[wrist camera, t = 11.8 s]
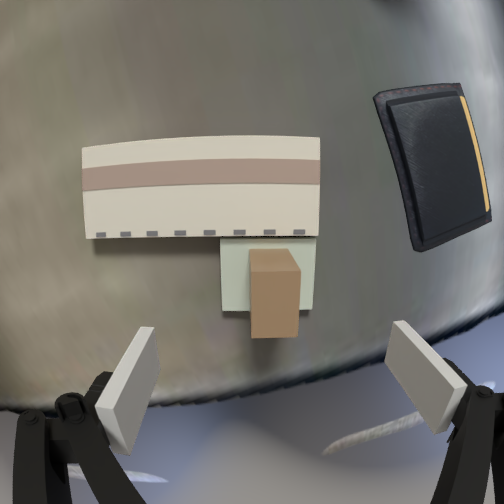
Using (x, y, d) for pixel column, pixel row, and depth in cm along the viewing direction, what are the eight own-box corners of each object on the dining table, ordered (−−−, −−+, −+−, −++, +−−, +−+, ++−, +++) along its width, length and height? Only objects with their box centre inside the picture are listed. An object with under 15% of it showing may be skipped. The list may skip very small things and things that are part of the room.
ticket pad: (93, 235, 33) (85, 238, 31) (90, 148, 31) (81, 147, 29) (313, 232, 34) (318, 235, 32) (315, 139, 31) (320, 137, 29)
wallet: (374, 89, 29) (467, 80, 28) (368, 92, 31) (459, 83, 30) (414, 258, 34) (497, 225, 33) (407, 255, 35) (489, 223, 35)
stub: (222, 307, 35) (217, 348, 27) (220, 237, 33) (212, 259, 25) (310, 305, 36) (329, 344, 27) (314, 237, 34) (337, 258, 25)
